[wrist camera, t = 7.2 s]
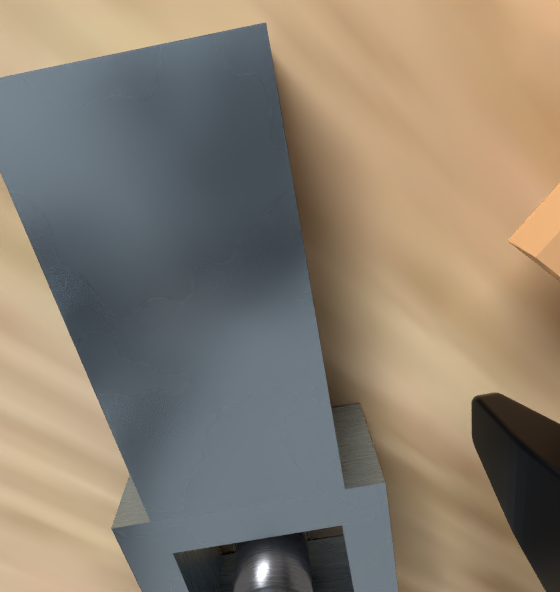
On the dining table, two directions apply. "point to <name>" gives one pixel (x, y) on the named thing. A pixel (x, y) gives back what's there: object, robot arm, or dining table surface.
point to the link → (194, 308)
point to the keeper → (542, 234)
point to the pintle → (273, 564)
